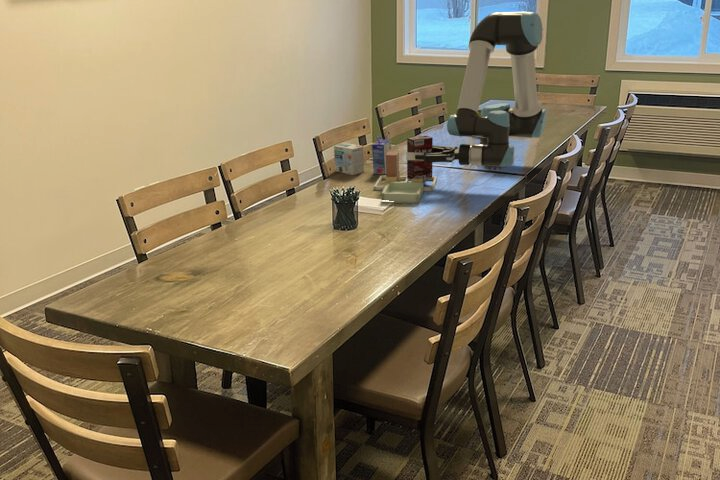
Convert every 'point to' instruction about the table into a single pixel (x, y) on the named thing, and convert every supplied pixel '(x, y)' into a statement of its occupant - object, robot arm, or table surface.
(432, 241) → the table surface
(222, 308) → the table surface
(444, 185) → the table surface
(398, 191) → the tray
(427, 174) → the supplement box
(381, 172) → the ink cartridge box
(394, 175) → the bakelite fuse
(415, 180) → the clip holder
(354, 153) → the light bulb box
